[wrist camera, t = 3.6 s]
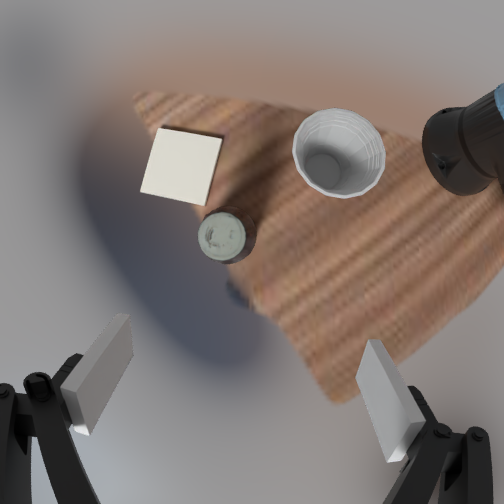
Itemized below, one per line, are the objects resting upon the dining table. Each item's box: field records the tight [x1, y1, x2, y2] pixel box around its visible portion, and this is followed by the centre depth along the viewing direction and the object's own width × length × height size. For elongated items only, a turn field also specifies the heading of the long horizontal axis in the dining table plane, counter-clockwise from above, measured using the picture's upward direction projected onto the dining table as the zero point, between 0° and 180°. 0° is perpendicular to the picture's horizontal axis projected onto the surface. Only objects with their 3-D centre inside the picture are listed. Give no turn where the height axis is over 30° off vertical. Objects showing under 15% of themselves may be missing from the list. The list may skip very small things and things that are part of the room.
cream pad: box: [141, 128, 223, 206], centre depth 45 cm, size 10×10×1 cm
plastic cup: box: [292, 108, 386, 199], centre depth 39 cm, size 11×11×12 cm
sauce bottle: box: [198, 206, 257, 264], centre depth 36 cm, size 6×6×20 cm
